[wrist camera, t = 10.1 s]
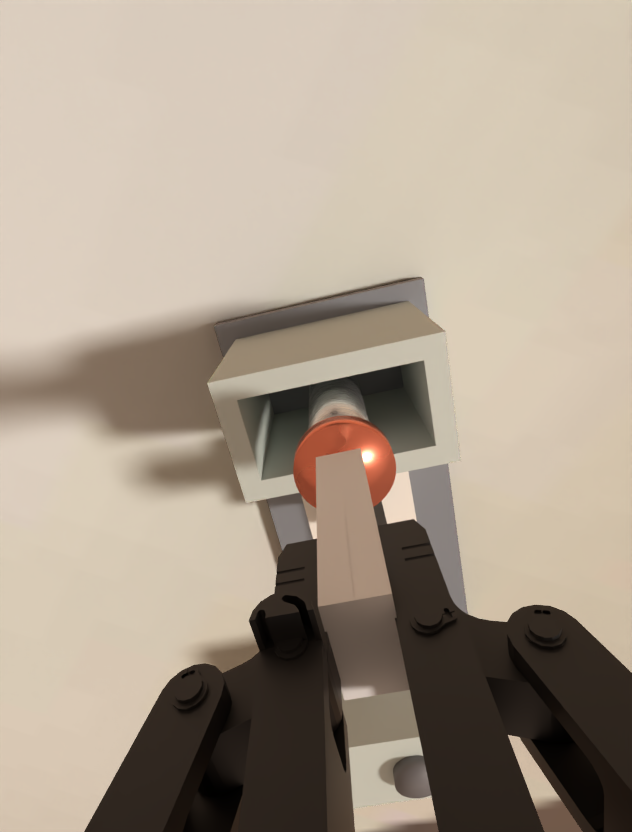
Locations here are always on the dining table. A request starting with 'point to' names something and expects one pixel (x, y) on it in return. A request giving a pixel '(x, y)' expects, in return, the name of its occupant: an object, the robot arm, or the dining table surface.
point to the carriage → (381, 505)
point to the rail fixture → (394, 415)
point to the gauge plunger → (342, 438)
